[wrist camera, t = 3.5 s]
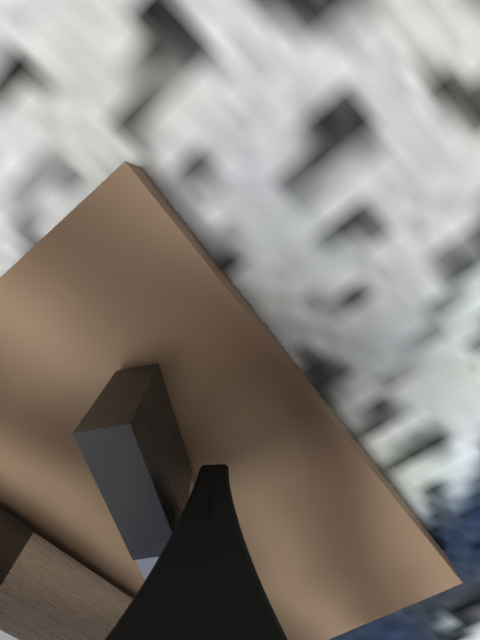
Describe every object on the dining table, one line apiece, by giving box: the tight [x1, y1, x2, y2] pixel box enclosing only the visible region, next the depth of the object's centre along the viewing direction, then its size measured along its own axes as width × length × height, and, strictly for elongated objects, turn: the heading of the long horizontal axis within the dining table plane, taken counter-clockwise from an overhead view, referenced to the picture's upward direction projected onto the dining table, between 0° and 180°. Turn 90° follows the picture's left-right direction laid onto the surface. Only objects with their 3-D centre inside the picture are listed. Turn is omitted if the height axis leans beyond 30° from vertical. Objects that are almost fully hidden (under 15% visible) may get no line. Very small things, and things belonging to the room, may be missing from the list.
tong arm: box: [73, 363, 195, 580], centre depth 12 cm, size 19×3×3 cm, turn 10°
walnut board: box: [0, 162, 462, 640], centre depth 15 cm, size 18×24×2 cm
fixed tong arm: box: [0, 507, 133, 640], centre depth 13 cm, size 15×2×3 cm, turn 37°
